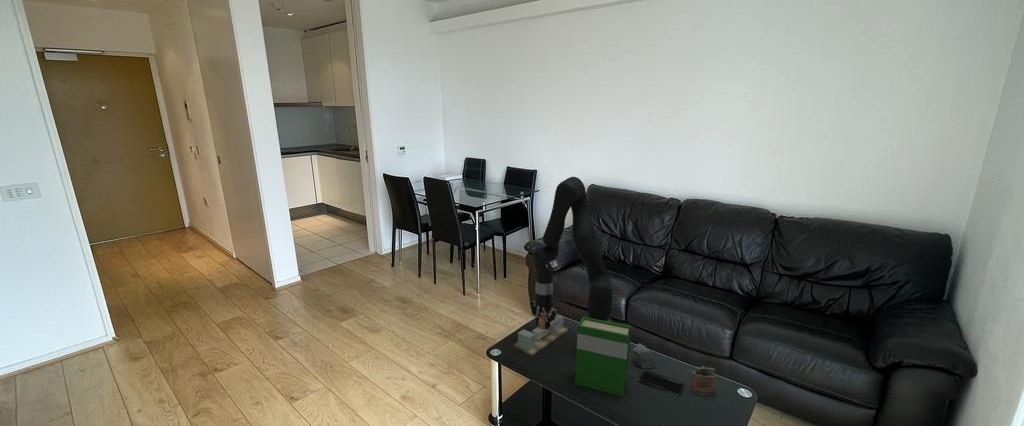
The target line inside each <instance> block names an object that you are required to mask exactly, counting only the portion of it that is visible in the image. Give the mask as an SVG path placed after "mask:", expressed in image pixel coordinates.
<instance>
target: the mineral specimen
mask: <svg viewBox="0 0 1024 426" xmlns="http://www.w3.org/2000/svg"><path fill="white" fill-rule="evenodd" d="M632 350H633V353H634V356H635V361H636V363H637V365H638V366H639V367H641V368H642V369H643V370H645V369H646V370H647V369H654V368H655V361H654V358H653V355H652V353H651V352H650V350H648V348H647V346H645V345H643V344H642V343H639V342H638V344H636V346H635V347H634V348H633V349H632Z"/></svg>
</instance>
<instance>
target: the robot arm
mask: <svg viewBox="0 0 1024 426" xmlns="http://www.w3.org/2000/svg"><path fill="white" fill-rule="evenodd" d="M570 209H571V212H572V213H571V214H572V238H573V242H574V245H575V248H576V249H575V250H576V251H577V253H578V256H579V258H580V259H581V261H582V262H583V264H584V266H585V269H586V273H587V278H588V283H589V287H588V300H587V318H592V319H597V320H602V321H607V322H611V317H612V309H613V300H614V299H613V297H614V289H613V288H614V287H613V284H612V281H611V278H610V276H609V274H608V272H607V269H606V267H605V264H604V259H603V254H602V253H603V252H602V249H601V245H600V240H599V237H598V234H597V231H596V228H595V225H594V220H593V217H592V215H591V212H590V206H589V201H588V198H587V192H586V188H585V184H584V182H583V181H582V179H580V178H579V177H577V176H570V177H568V178H566V179H564V180H563V181H560V182H559V184H557V186H556V189H555V193H554V199H553V205H552V208H551V213H550V216H549V219H548V222H547V226H546V227H545V231H544V234H543V235H542V236H543V237H542V242H543V244H544V246H541V247H538V248H536V249H535V250H534V251H533V254H532V259H533V263H534V267H535V271H536V280H535V291H534V293H535V295H534V297H535V298H534V300H532V301H530V302H529V307H530V310H531V314H532V316H535V324H536V326H538V323H539V315H542V314H543V315H544V317H545V319H546V321H545V329H548V328H549V327H550V322H552V321H553V320H555V317H556V315H557V314H558V312H559V310H558V309H557V308H554V306H553V299H554V297H553V295H554V284H553V283H554V281H553V280H554V271H553V269H552V267H550V266H547V264H548V263H551V262H554V261H555V260H557V257H558V256H559V248H560V241H561V239H562V237H563V234H564V231H565V228H566V227H565V225H566V219H567V215H568V212H569V211H570Z"/></svg>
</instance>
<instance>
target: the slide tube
mask: <svg viewBox="0 0 1024 426" xmlns="http://www.w3.org/2000/svg"><path fill="white" fill-rule="evenodd" d="M545 321H546V319H545V317H544V313H541V315H539V323H538V325H537V327H536V328H534V329H533V330H532V331H531V333H533V334H535V339H536V340H540V339H541V338H542V337H544V336H545V335H547V334H548V333H550V327H549V328H548V329H545Z"/></svg>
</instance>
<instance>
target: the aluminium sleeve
mask: <svg viewBox="0 0 1024 426" xmlns="http://www.w3.org/2000/svg"><path fill="white" fill-rule="evenodd" d="M564 321H565V316H563V315H561V314H558V313H557V315H556V317H555V320H553V321H552V322H550V333H548V335H550V336H551V335H553V334H554V333H556V332H557V331H559V330H560V329H562V328H563V327H565V326H564V323H565V322H564Z"/></svg>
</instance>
